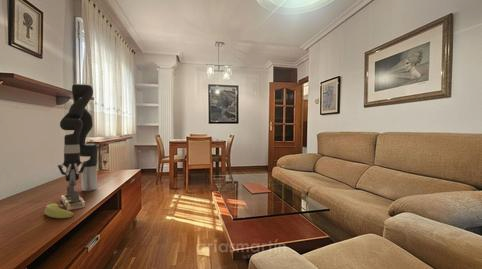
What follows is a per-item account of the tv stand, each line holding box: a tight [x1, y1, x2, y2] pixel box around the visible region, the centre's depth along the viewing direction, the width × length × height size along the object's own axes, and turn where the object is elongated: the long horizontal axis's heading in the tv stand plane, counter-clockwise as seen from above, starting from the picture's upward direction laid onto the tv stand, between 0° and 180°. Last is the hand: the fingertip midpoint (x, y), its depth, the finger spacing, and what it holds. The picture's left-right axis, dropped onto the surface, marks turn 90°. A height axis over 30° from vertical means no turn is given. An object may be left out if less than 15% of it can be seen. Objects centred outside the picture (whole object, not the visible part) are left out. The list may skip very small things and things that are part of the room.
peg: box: [68, 169, 77, 187], centre depth 130 cm, size 4×4×10 cm
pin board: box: [61, 185, 86, 211], centre depth 131 cm, size 23×8×9 cm, turn 46°
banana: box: [44, 203, 75, 219], centre depth 117 cm, size 14×6×20 cm
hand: (72, 180), depth 130 cm, fingers closed on peg, 3 cm apart
